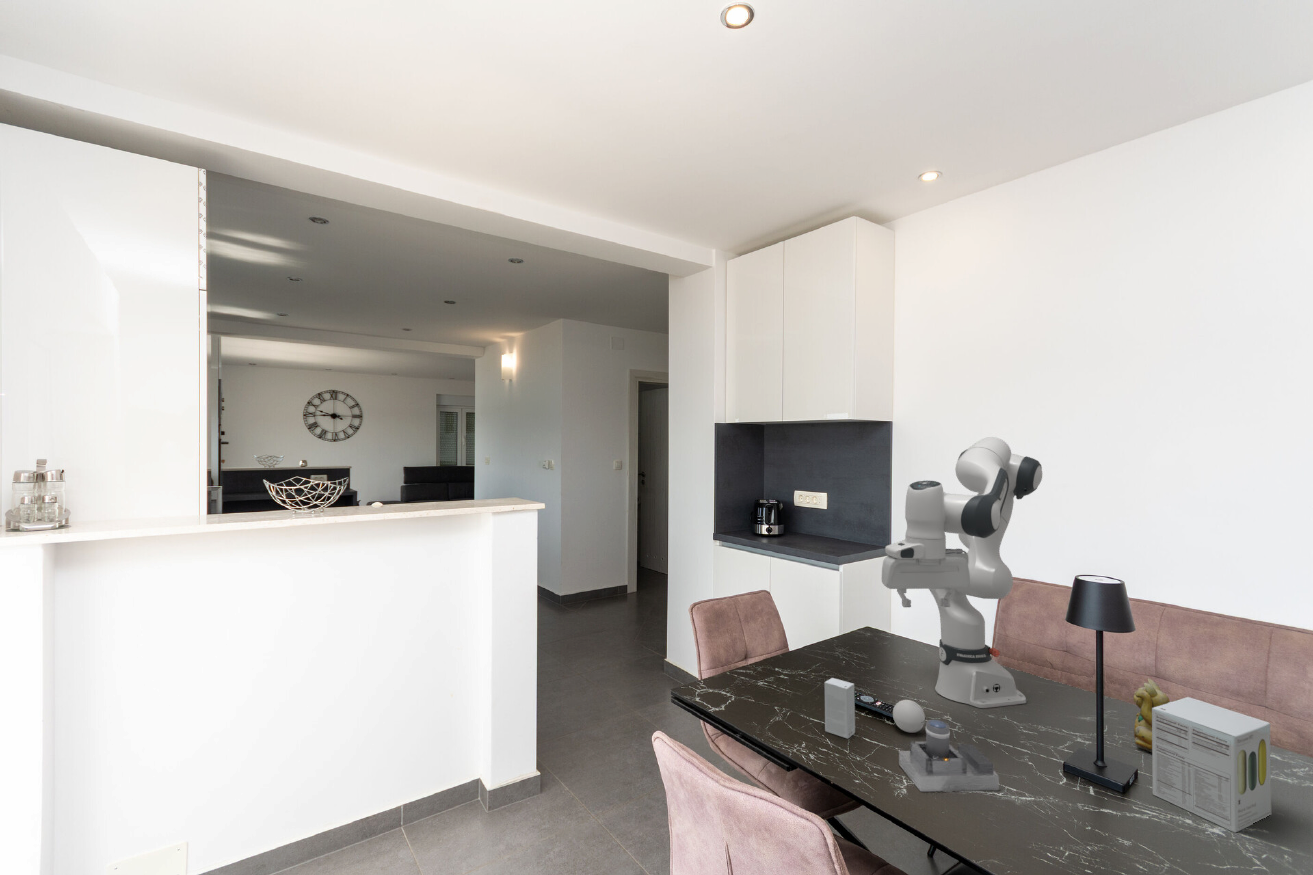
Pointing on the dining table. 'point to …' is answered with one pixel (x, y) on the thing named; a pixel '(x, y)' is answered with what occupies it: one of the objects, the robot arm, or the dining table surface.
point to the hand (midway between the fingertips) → (925, 606)
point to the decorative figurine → (1147, 712)
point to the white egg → (908, 716)
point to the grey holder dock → (949, 769)
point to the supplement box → (1212, 762)
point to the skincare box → (839, 708)
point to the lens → (937, 739)
